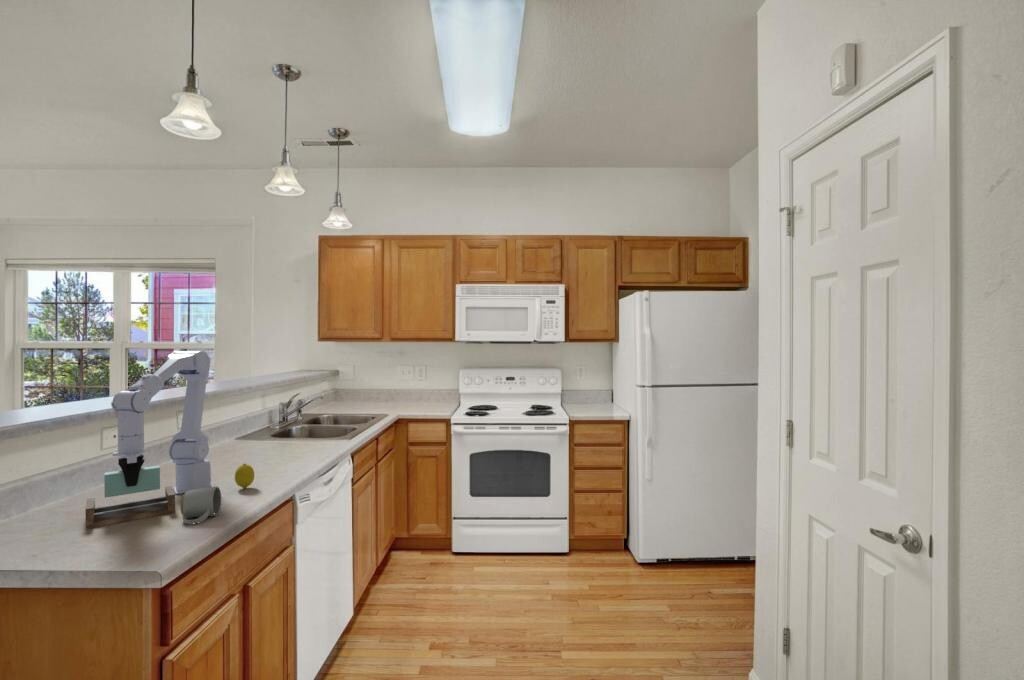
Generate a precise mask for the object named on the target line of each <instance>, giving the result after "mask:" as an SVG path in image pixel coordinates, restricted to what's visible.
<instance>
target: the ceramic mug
mask: <svg viewBox="0 0 1024 680" xmlns="http://www.w3.org/2000/svg"><path fill="white" fill-rule="evenodd" d="M221 507H222V493H221V489H220V487H219V486H211V487H209V488H202V489H195V490H190V491H187V492H185V493H183V494H182V496H181V500H180V513H181V515H182V520H183V524H185V523H187V524H186V525H188V524H193V523H198V522H200V523H203V522H204V521H205V520H206V519H207V518H209V517H216V516H218V515H217V514H219V513H220V511H221ZM214 513H215V514H214ZM208 516H209V517H208ZM193 517H195V519H194V518H193ZM186 518H188V519H186ZM198 524H199V523H198Z"/></svg>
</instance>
